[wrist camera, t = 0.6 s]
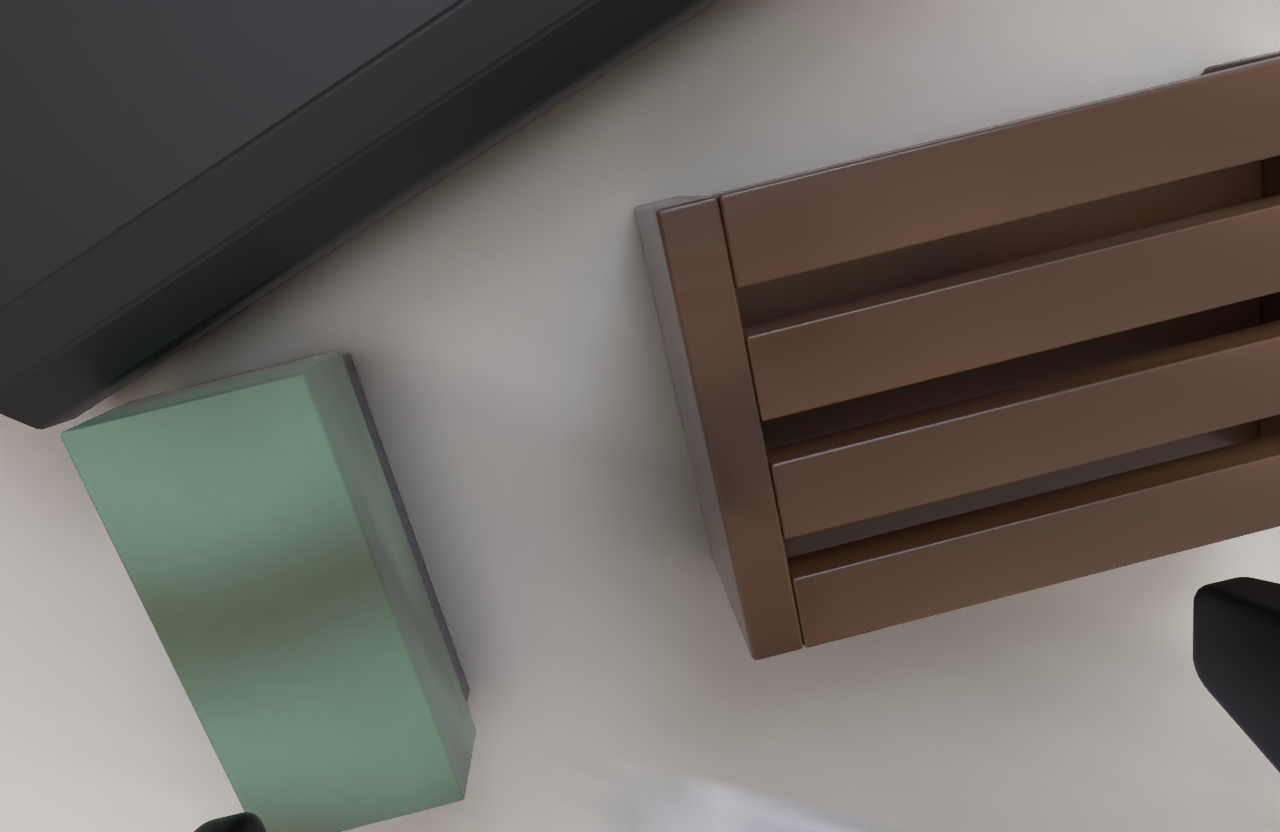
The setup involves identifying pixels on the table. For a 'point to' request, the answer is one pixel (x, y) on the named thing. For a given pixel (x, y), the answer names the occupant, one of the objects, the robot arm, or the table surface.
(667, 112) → the table surface
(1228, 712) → the robot arm
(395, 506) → the green rectangular block
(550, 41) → the dark leather journal
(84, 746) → the table surface
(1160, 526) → the rack
